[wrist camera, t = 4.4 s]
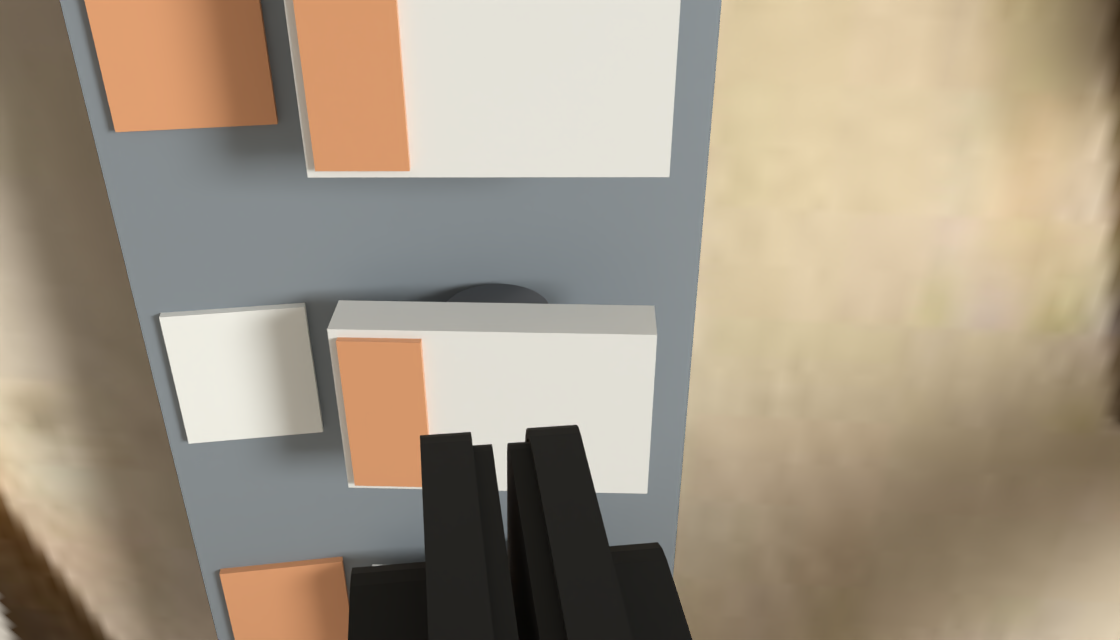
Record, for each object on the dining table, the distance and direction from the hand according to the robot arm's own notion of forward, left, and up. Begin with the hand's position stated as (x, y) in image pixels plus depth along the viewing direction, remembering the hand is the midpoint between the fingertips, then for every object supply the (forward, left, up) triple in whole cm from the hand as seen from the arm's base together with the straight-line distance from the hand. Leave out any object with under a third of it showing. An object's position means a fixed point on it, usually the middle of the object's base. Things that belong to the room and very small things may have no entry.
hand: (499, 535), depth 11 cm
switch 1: (0, -2, -13) cm, 13 cm away
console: (-4, +5, -17) cm, 18 cm away
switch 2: (-5, +4, -13) cm, 14 cm away
